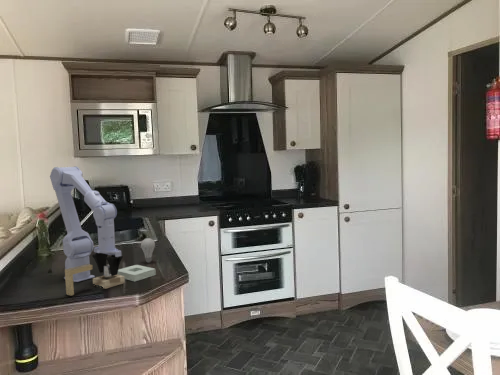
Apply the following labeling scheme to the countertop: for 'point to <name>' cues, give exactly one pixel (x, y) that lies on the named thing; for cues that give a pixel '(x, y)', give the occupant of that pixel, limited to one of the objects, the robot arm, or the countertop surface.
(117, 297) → the countertop surface
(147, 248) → the lightbulb
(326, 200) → the countertop surface
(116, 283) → the socket block
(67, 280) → the tan l-shaped wooden piece
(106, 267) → the steel pin
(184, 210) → the countertop surface
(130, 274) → the pale grey flat frame
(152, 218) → the countertop surface
